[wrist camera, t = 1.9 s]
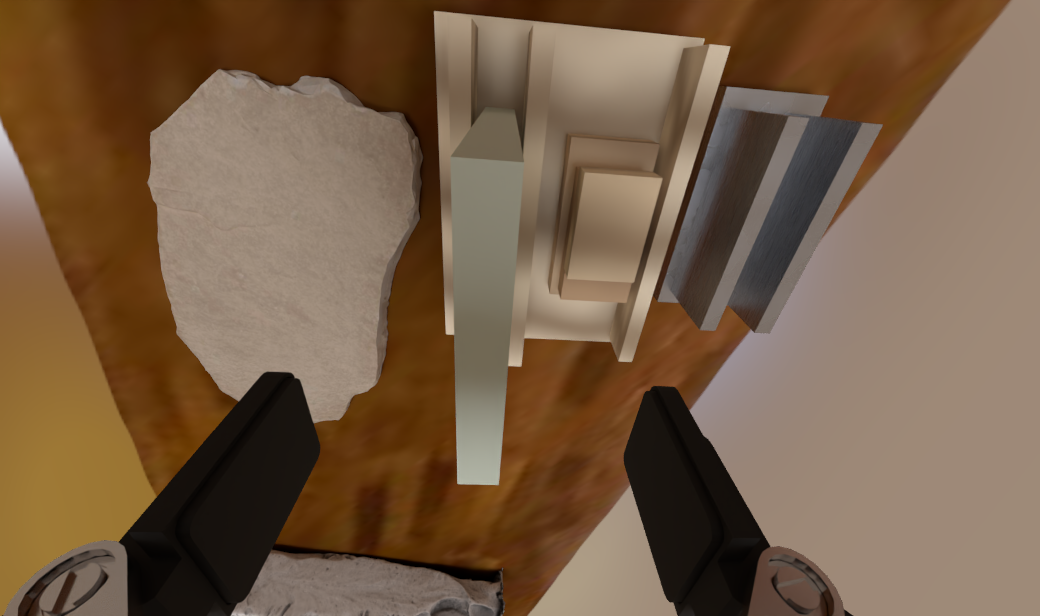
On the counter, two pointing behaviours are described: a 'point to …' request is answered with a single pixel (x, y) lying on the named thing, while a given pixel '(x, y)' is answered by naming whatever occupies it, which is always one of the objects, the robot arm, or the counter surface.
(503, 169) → the grey-green panel
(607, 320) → the rack
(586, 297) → the offcut stack
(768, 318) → the stand
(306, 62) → the counter surface
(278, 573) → the concrete block
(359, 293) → the stone tablet
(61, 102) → the counter surface
